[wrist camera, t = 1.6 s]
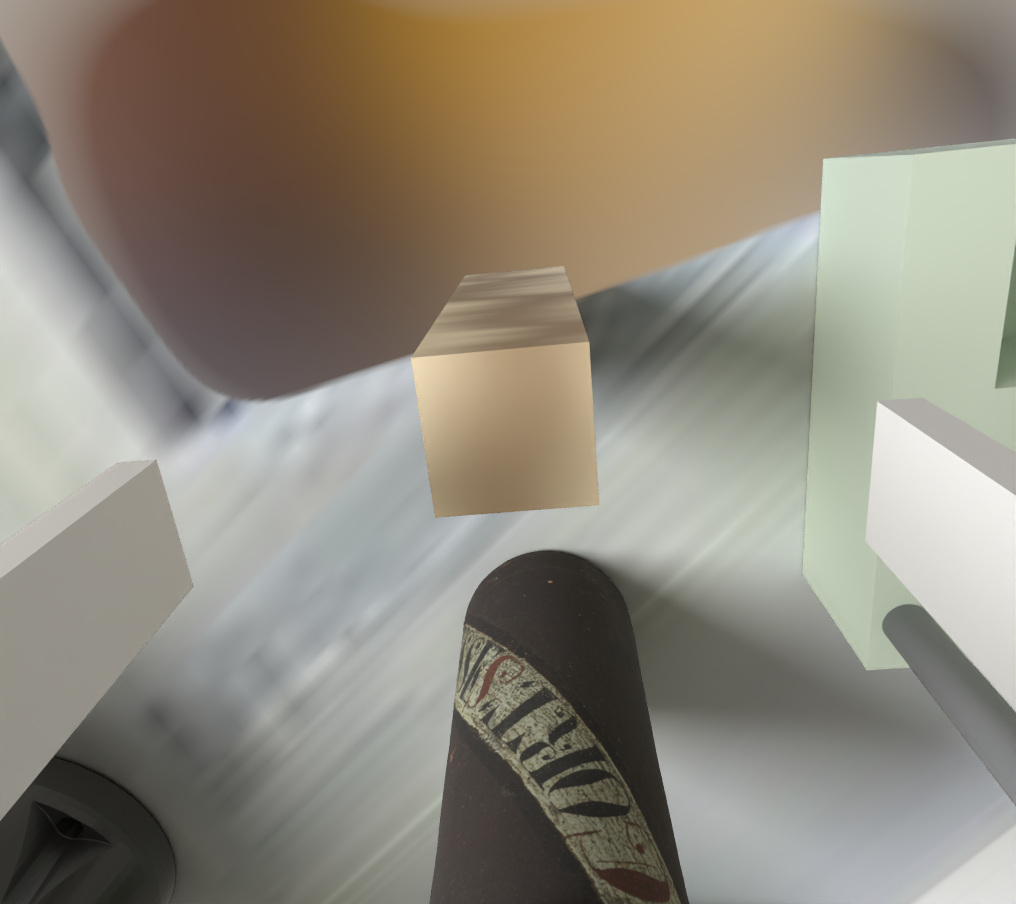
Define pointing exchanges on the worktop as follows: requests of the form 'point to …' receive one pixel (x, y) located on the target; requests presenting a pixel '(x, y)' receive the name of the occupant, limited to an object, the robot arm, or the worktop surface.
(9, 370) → the worktop surface
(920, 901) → the worktop surface
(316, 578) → the worktop surface
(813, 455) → the socket station
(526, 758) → the container
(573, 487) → the peg
